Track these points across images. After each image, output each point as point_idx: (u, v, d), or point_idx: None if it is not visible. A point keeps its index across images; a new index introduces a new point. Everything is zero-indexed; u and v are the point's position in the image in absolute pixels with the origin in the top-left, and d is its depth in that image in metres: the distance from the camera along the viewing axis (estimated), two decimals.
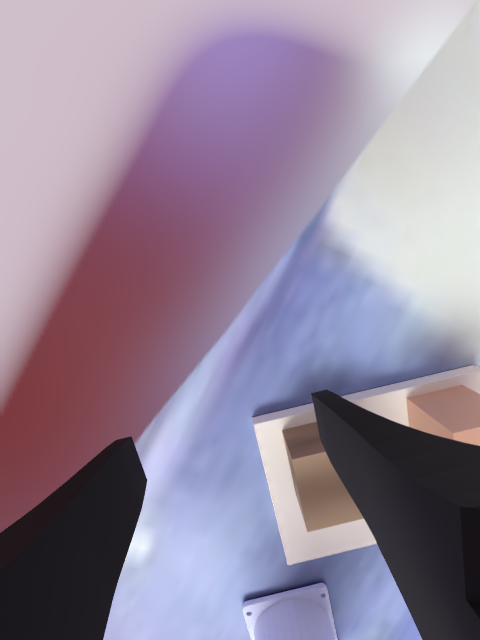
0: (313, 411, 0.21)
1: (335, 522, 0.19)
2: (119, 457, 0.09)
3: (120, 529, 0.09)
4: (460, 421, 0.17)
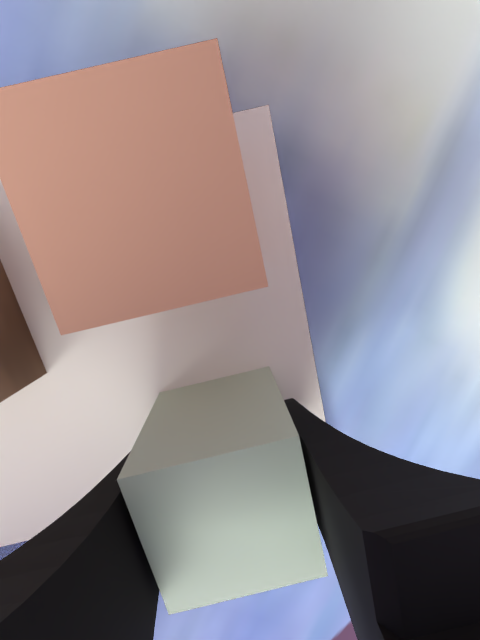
0: None
1: None
2: None
3: None
4: None
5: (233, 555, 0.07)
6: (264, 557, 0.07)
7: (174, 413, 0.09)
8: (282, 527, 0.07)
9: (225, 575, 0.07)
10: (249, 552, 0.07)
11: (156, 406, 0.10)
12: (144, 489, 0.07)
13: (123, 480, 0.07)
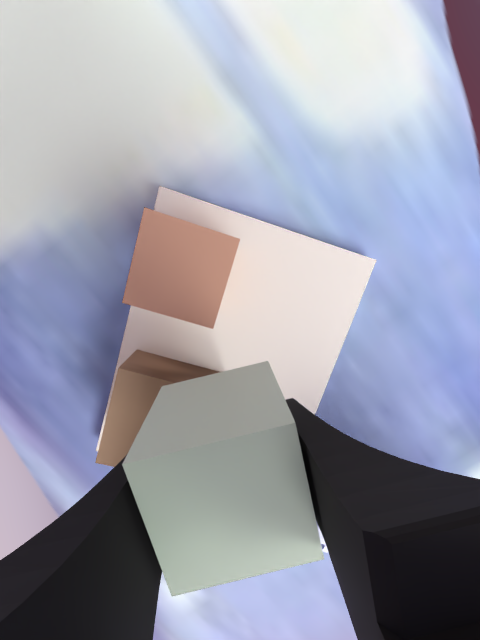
0: (111, 391, 0.18)
1: None
2: None
3: None
4: None
5: (232, 539, 0.07)
6: (263, 540, 0.07)
7: (176, 404, 0.09)
8: (280, 511, 0.07)
9: (225, 557, 0.08)
10: (248, 535, 0.07)
11: (159, 398, 0.10)
12: (148, 473, 0.07)
13: (128, 465, 0.07)
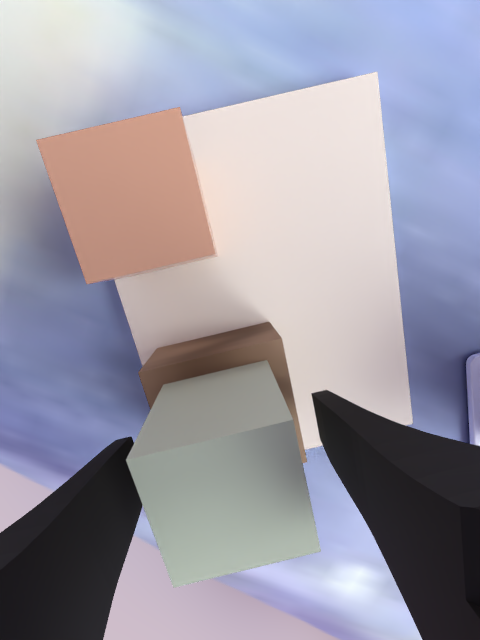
0: None
1: None
2: (119, 457, 0.09)
3: (120, 528, 0.09)
4: None
5: (232, 531, 0.08)
6: (262, 533, 0.08)
7: (178, 402, 0.09)
8: (278, 505, 0.08)
9: (225, 550, 0.08)
10: (248, 528, 0.08)
11: (160, 397, 0.10)
12: (151, 469, 0.07)
13: (132, 460, 0.07)
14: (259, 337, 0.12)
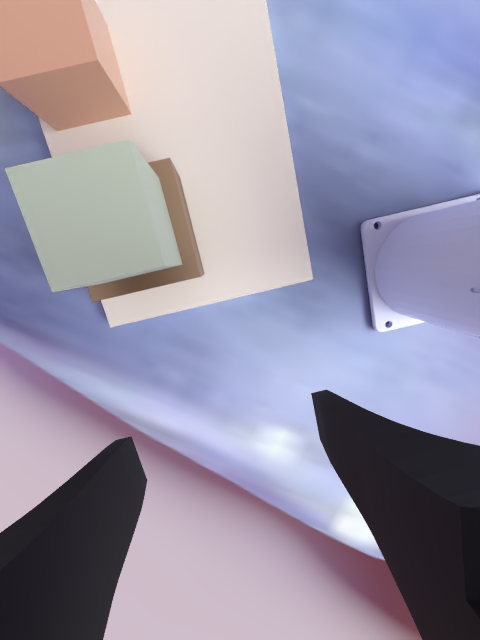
0: None
1: (186, 240, 0.14)
2: (119, 457, 0.09)
3: (120, 528, 0.09)
4: None
5: (93, 241, 0.10)
6: (116, 244, 0.10)
7: None
8: (126, 219, 0.10)
9: (89, 258, 0.10)
10: (105, 239, 0.10)
11: None
12: (25, 178, 0.10)
13: (9, 170, 0.10)
14: None
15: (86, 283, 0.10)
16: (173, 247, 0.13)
